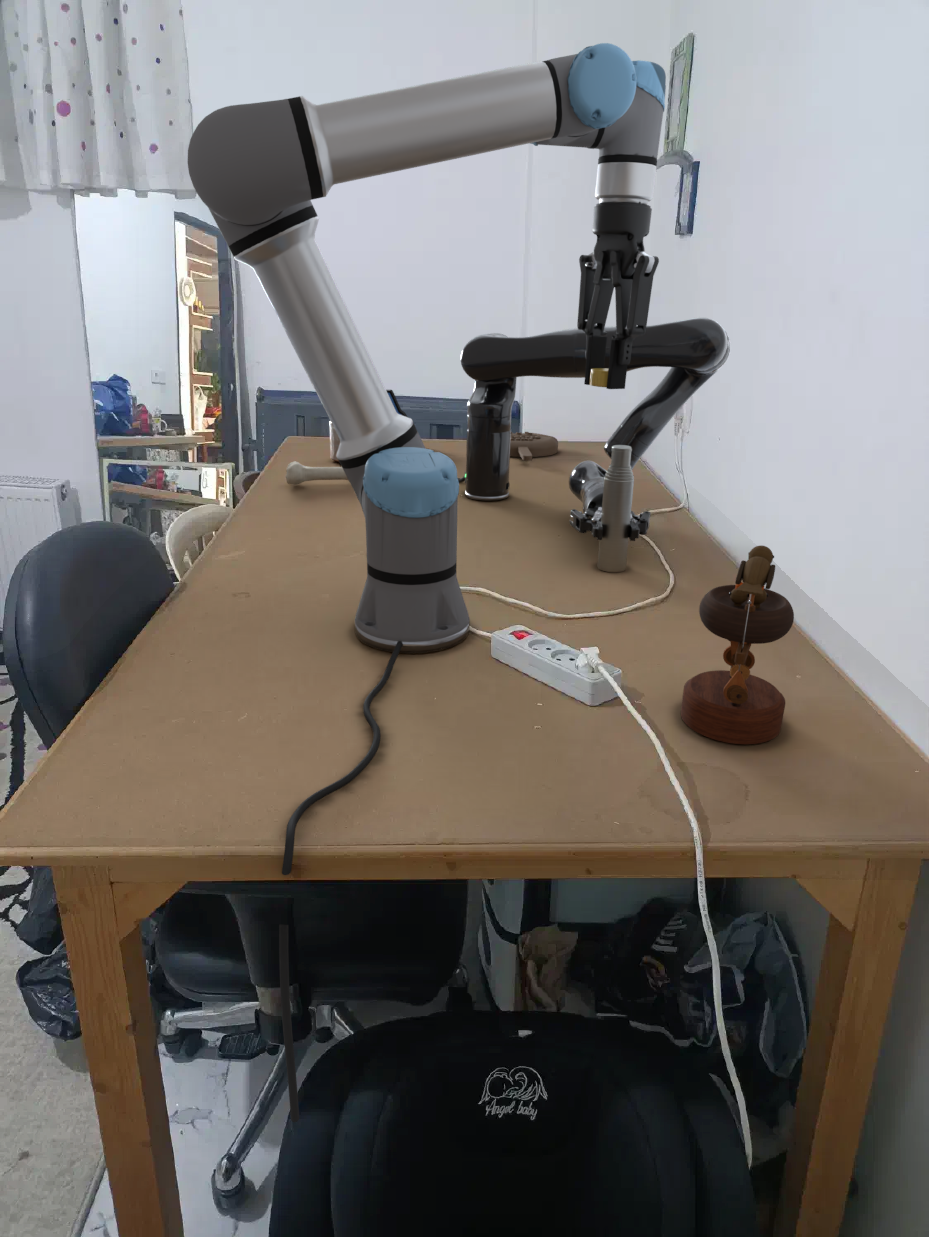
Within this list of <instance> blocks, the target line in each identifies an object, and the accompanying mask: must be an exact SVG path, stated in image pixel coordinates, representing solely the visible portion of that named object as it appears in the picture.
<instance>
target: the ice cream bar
mask: <svg viewBox="0 0 929 1237" xmlns="http://www.w3.org/2000/svg"><path fill="white" fill-rule="evenodd" d="M558 450H559V440H558V439H557V438H556V437H554V436H552V435H547V434H543V433H537V432H529V431H524V432H517V431H516V432H513V431H511V437H510V457H512V458H513V457H514V458H515V457H517V458H519V457H520V458H521V460H522V461H525V462H531V461H532V460H533V457H535V458H536V457H548V456H552V455H555V454H556V453H558Z"/></svg>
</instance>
